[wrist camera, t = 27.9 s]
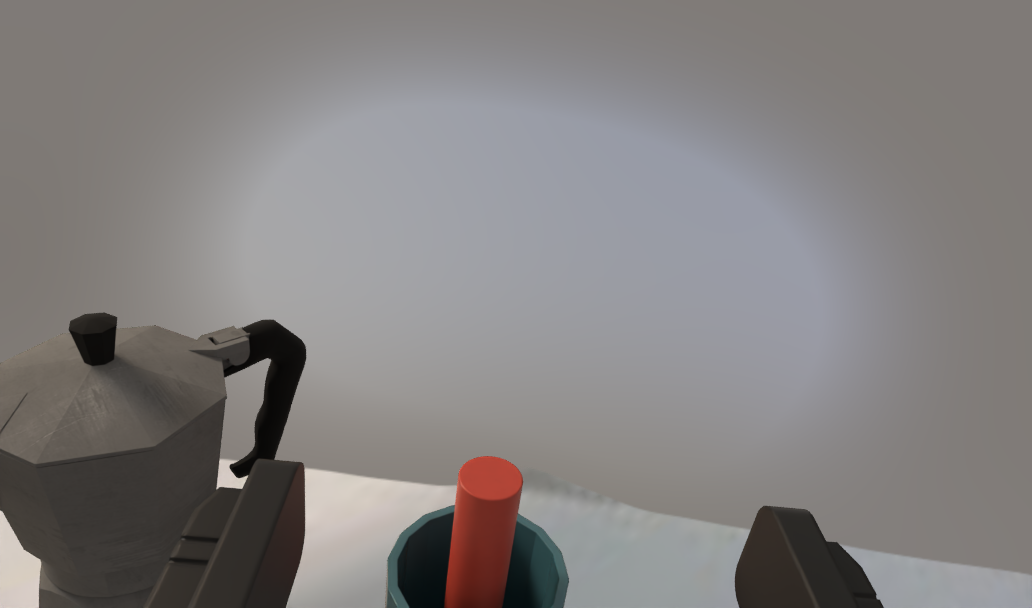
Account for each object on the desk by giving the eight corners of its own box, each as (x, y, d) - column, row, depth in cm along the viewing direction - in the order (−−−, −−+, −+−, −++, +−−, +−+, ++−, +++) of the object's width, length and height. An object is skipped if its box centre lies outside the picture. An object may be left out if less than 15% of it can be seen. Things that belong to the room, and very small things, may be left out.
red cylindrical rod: (425, 726, 32) (449, 490, 26) (442, 679, 34) (468, 449, 28) (476, 742, 32) (514, 507, 25) (490, 694, 34) (529, 464, 27)
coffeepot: (23, 815, 28) (-107, 454, 20) (-42, 651, 33) (-165, 314, 25) (355, 601, 38) (363, 306, 30) (265, 503, 44) (250, 230, 35)
